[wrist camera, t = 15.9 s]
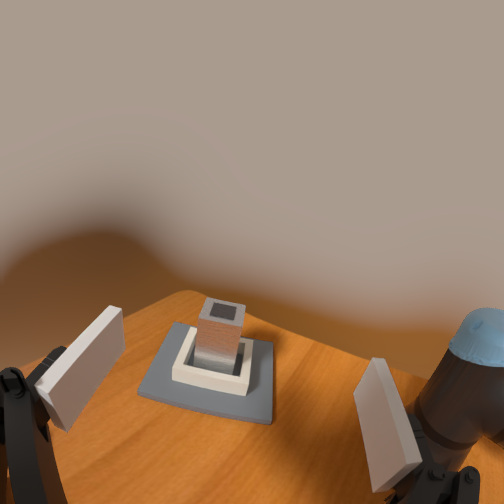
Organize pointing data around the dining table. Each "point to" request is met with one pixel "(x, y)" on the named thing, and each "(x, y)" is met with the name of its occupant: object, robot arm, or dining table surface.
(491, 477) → the dining table surface
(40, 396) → the robot arm
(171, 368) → the cradle
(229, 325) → the tall square post
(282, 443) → the dining table surface
